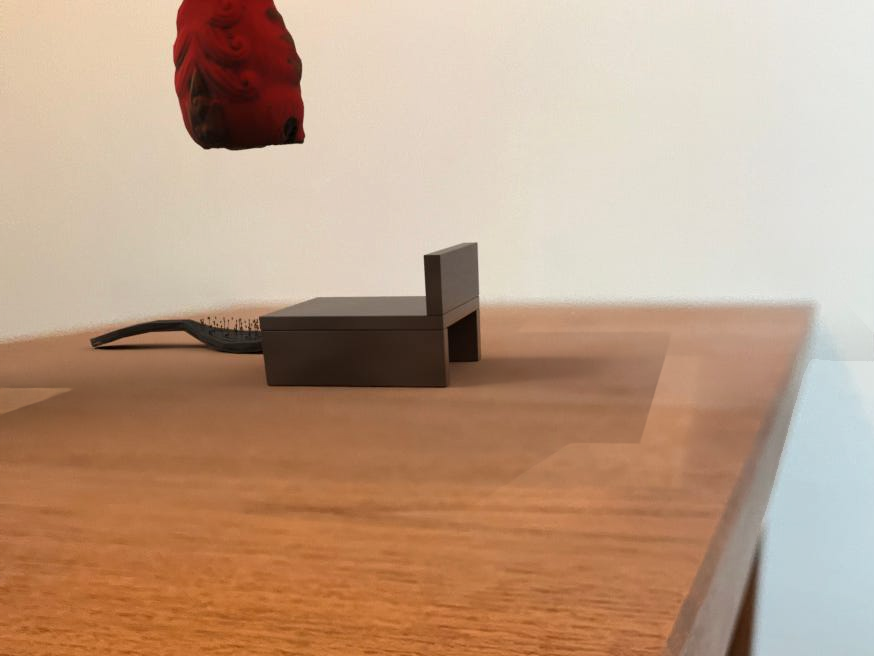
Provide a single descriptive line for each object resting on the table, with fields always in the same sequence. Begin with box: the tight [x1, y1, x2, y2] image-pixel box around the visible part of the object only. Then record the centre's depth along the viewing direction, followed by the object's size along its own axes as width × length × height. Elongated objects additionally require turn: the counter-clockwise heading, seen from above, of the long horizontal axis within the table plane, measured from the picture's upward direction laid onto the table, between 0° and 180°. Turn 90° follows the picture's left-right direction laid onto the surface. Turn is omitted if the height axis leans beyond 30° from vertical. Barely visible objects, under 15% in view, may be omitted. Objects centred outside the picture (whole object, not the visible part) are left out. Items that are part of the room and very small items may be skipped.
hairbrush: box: [89, 316, 263, 354], centre depth 93 cm, size 8×4×25 cm
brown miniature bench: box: [258, 241, 482, 388], centre depth 77 cm, size 14×12×9 cm
